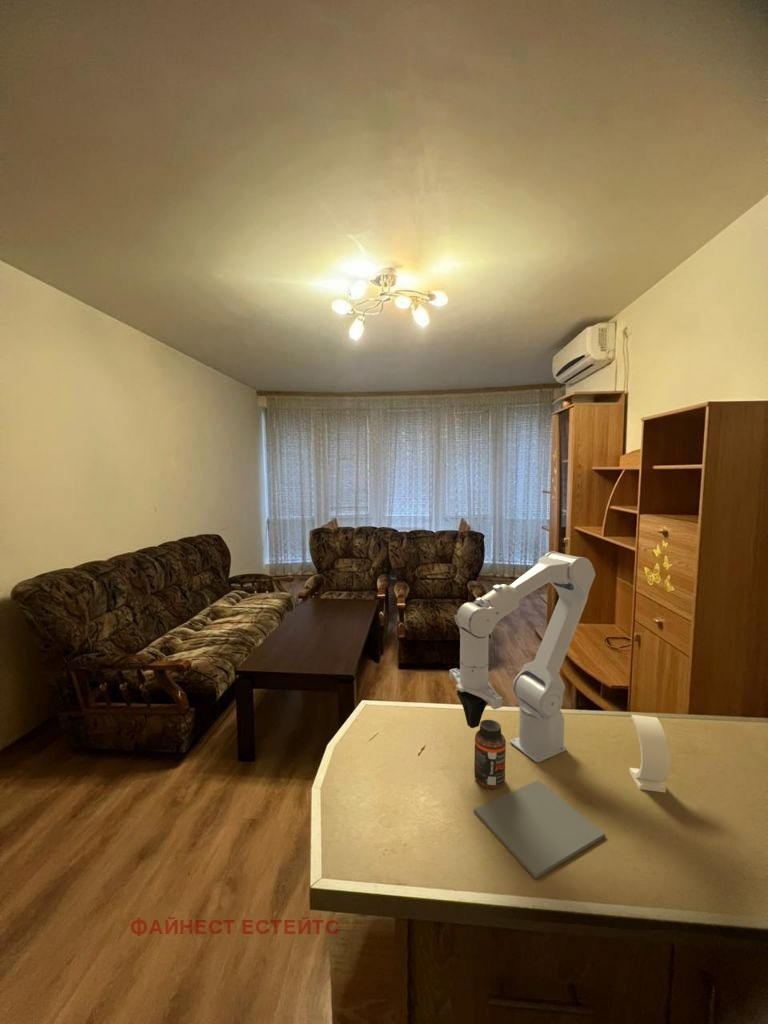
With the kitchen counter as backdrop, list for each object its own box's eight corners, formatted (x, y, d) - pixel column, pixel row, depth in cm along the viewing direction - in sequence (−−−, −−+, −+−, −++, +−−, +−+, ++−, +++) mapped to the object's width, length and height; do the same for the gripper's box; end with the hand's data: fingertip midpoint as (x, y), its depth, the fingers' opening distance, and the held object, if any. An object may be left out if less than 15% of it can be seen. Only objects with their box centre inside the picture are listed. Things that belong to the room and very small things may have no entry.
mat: (538, 782, 80) (538, 779, 80) (604, 836, 68) (605, 833, 68) (474, 812, 73) (474, 808, 73) (535, 878, 60) (535, 875, 60)
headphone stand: (654, 774, 82) (656, 717, 82) (668, 796, 76) (671, 735, 76) (629, 771, 83) (631, 714, 82) (641, 793, 77) (643, 732, 77)
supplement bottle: (500, 795, 77) (501, 737, 76) (469, 783, 80) (470, 727, 79) (508, 776, 82) (509, 722, 81) (479, 765, 85) (480, 713, 84)
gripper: (438, 652, 89) (437, 713, 90) (482, 681, 76) (481, 751, 77) (464, 647, 92) (463, 705, 93) (510, 673, 79) (509, 740, 80)
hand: (473, 725), depth 85 cm, fingers closed
